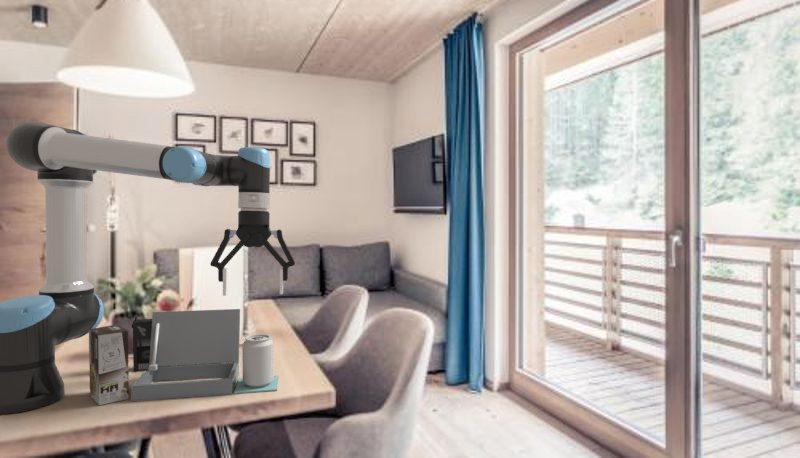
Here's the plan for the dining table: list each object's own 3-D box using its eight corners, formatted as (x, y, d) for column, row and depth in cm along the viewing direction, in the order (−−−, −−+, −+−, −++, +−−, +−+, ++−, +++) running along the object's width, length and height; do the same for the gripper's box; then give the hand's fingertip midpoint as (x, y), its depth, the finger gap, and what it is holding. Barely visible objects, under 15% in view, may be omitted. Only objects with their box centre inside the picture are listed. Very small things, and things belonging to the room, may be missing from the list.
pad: (234, 393, 114) (234, 392, 114) (239, 379, 124) (239, 378, 124) (276, 390, 116) (277, 389, 116) (278, 377, 126) (278, 375, 126)
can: (271, 376, 125) (271, 331, 125) (275, 386, 118) (275, 338, 118) (241, 380, 122) (241, 334, 122) (243, 390, 115) (243, 341, 115)
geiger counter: (175, 363, 137) (174, 311, 137) (173, 368, 133) (172, 314, 133) (134, 367, 134) (133, 314, 133) (131, 372, 129) (130, 317, 129)
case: (131, 401, 109) (130, 327, 109) (154, 375, 127) (153, 311, 126) (231, 394, 114) (231, 323, 114) (240, 369, 132) (240, 308, 131)
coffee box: (130, 398, 111) (129, 330, 110) (98, 406, 106) (97, 335, 106) (119, 388, 118) (118, 323, 117) (89, 395, 113) (88, 327, 112)
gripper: (198, 209, 113) (197, 297, 113) (304, 210, 118) (304, 295, 119) (204, 209, 120) (203, 292, 121) (304, 210, 125) (303, 290, 126)
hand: (253, 294), depth 120 cm, fingers open, 13 cm apart
